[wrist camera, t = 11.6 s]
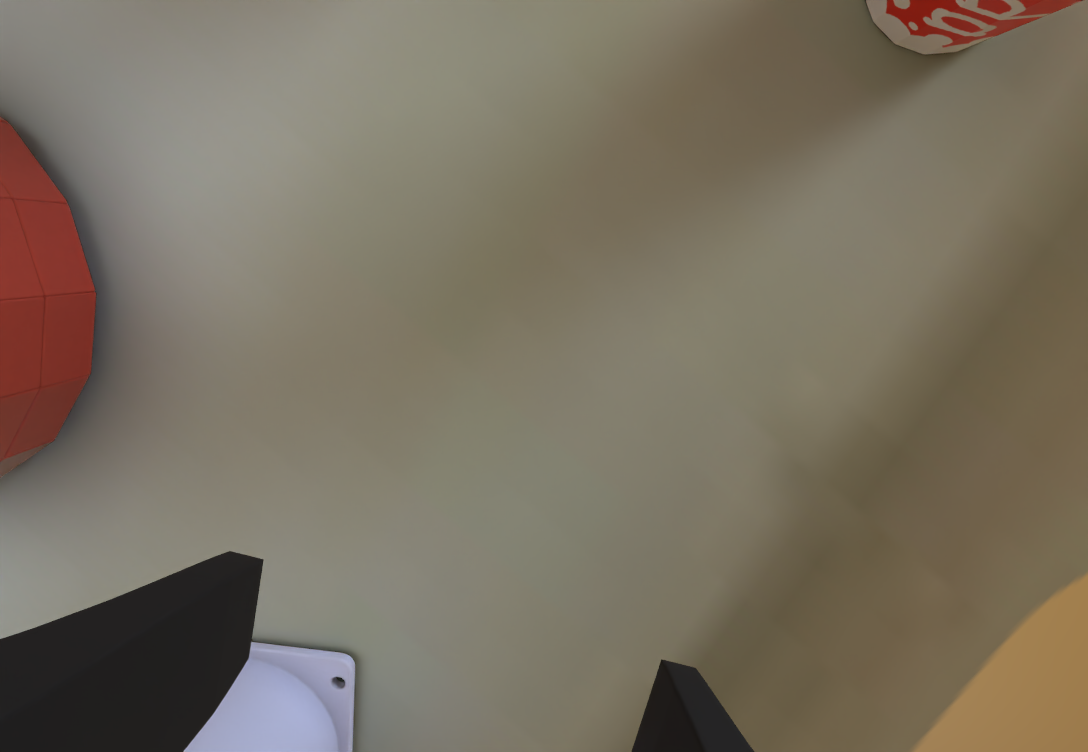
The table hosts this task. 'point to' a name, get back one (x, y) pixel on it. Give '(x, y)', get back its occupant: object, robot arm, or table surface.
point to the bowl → (38, 305)
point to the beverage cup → (954, 20)
